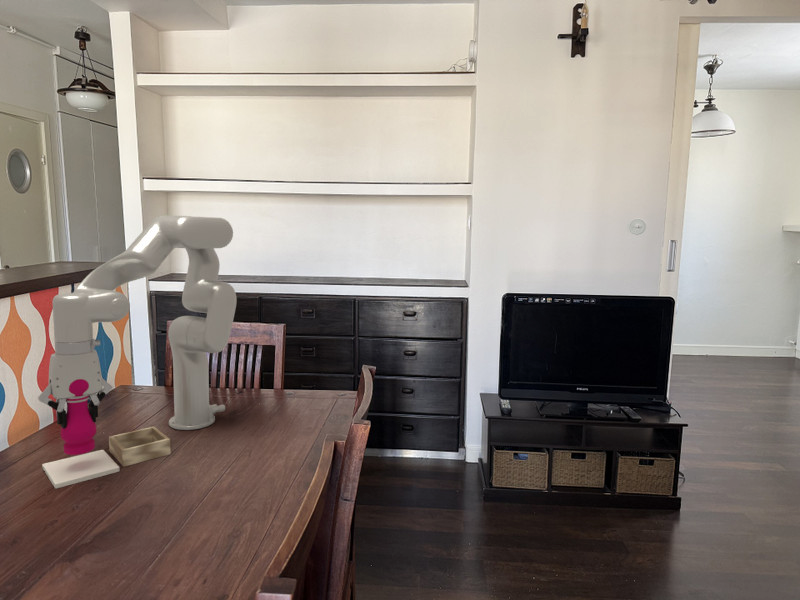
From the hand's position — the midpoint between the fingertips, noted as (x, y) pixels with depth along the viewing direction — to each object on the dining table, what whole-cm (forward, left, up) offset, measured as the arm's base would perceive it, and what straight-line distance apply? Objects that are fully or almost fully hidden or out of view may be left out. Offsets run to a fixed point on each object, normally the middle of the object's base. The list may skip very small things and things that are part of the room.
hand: (78, 422), depth 125 cm
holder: (-14, -1, -12) cm, 18 cm away
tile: (0, 0, -12) cm, 12 cm away
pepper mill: (0, 0, -7) cm, 7 cm away
